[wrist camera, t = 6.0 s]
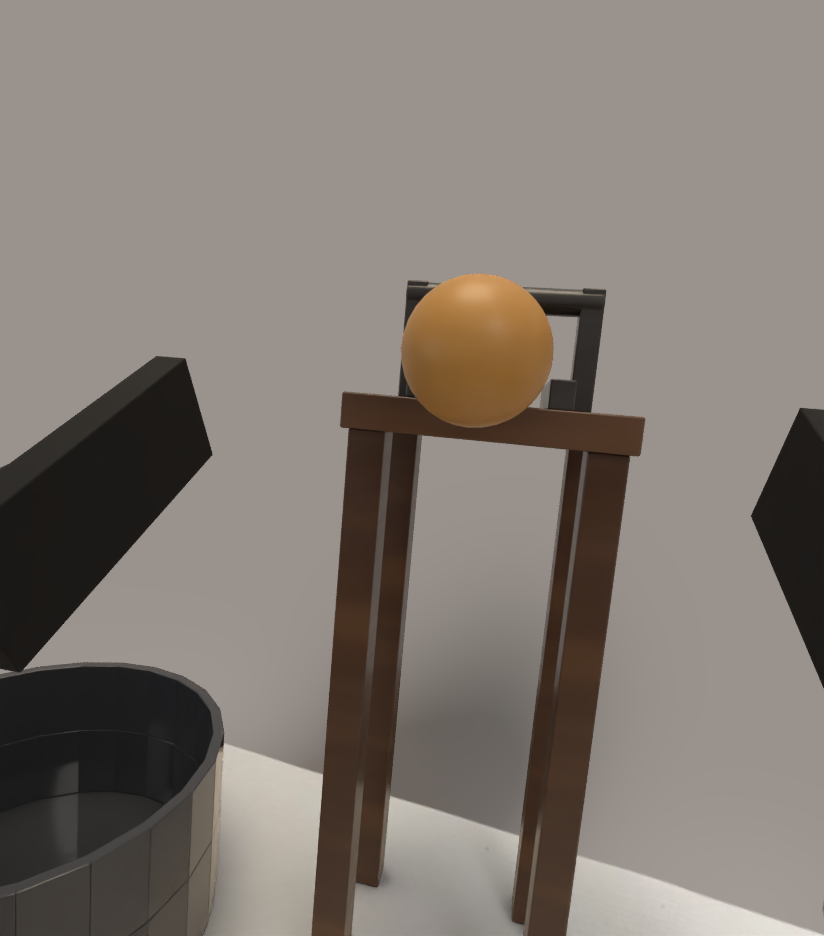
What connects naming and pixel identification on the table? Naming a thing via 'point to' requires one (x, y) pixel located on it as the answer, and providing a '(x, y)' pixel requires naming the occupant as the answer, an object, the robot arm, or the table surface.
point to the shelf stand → (384, 613)
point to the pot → (107, 801)
